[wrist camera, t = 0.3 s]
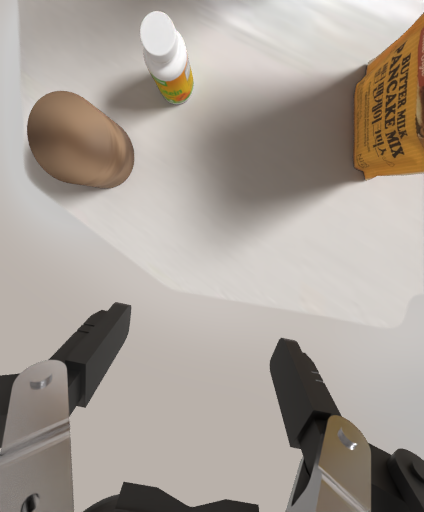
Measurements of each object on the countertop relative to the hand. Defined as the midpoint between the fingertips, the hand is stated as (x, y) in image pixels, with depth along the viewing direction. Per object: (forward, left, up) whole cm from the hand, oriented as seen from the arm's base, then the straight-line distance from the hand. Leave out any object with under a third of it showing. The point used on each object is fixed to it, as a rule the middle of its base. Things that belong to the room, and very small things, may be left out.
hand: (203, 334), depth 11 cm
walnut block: (-9, -23, -27) cm, 37 cm away
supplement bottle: (-22, -13, -27) cm, 37 cm away
